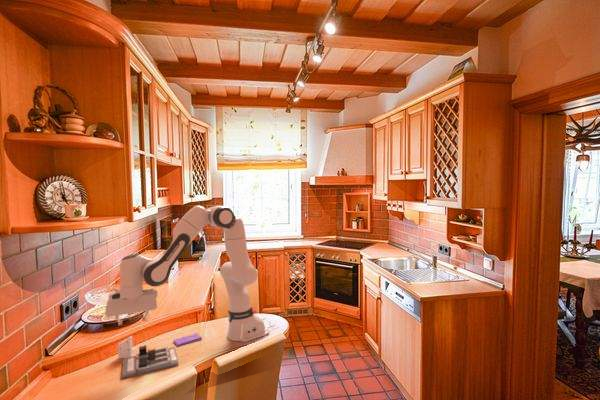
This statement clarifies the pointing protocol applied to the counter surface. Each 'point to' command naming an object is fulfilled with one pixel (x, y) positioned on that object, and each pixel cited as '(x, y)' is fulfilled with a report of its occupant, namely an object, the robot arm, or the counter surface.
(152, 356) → the breaker
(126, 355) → the white angled block
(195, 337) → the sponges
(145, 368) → the breaker panel
